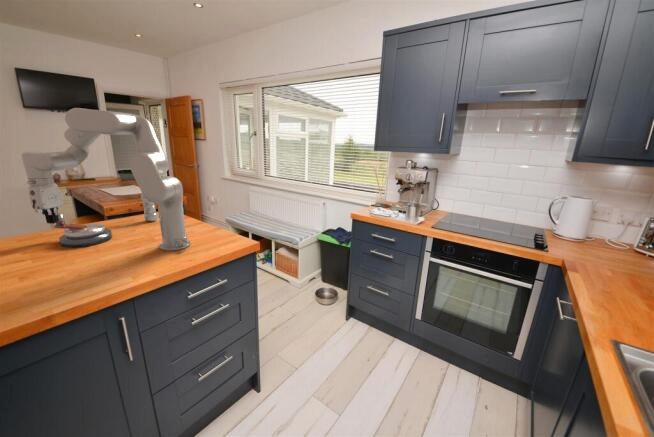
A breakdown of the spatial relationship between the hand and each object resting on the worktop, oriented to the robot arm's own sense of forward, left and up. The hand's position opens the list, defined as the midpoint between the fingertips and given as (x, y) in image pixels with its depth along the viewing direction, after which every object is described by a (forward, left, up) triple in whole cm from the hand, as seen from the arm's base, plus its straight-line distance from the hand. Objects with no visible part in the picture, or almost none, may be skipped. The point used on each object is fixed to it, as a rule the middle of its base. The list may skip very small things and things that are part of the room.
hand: (52, 222), depth 120 cm
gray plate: (-8, -8, -9) cm, 15 cm away
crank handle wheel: (-5, -7, -6) cm, 10 cm away
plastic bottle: (-1, -41, -9) cm, 42 cm away
